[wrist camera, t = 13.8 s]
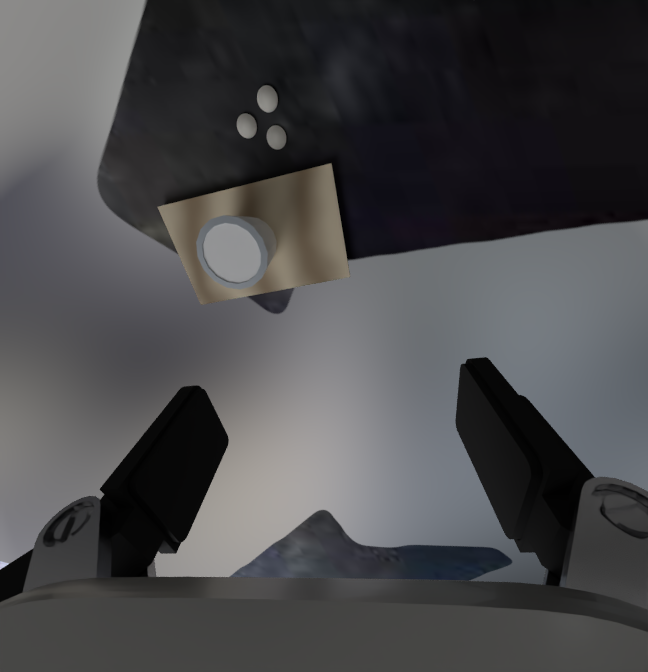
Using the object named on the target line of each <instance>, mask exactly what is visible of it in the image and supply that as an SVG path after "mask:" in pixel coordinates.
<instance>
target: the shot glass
mask: <svg viewBox="0 0 648 672" xmlns="http://www.w3.org/2000/svg"><path fill="white" fill-rule="evenodd" d="M276 244H277V241H276V238H275V235H274V232H273V231H272V229H271V228H270V227H269V225H268V224H267V223H265V222H264V221H262V220H260V219H259V218H254V217H245V216H228V215H223V216H219V217H216V218H213V219H210V220H209V221H208V222H207V223H206V224H205V225H204V226H203V227H202V228H201V229H200V232H199V235H198V238H197V241H196V245H197V256H198V259H199V261H200V263H201V265H202V267H203V269H204V271H205V272H206V273H207V274H208V275H209V276H210V277H211V278H212V279H213V280H214V281H215V282H217V283H219V284H221V285H223V286H225V287H227V288H233V289H244V288H248V287H252V286H253V285H254V284H256V283H257V282H258V281H259V280H260V279H262V277H263V275H264V273H265V271H266V270H267V268H268V266H269V264H270V262H271V261H272V259H273V257H274V254H275V252H276Z"/></svg>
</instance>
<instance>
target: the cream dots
mask: <svg viewBox="0 0 648 672" xmlns="http://www.w3.org/2000/svg"><path fill="white" fill-rule="evenodd" d="M257 101H258V104H259V106H260V108H261V109H262V110H263V111H265V112H268V113H269V112H272V111H274V110H275V109H276V107H277V104H278V97H277V93H276V92H275V90H274V89H273V88H272V87H271V86H268V85H265V86H262V87H261V88H260V89H259V91H258V94H257ZM237 129H238V131H239V133H240V134H241V135H242V136H243V137H245V138H252V137H253V136H254V135H255V134H256V131H257V124H256V121H255V119H254V118H253V117H252V116H251V115H250V114H247V113H244V114H241V115H240V116H239V118H238V120H237ZM267 141H268V143H269V145H270V146H271V147H272V148H273V149H276V150H279V149H281V148H283V147H284V146H285V144H286V133H285V131H284V130H283V129H282V128H281V127H280V126H277V125H274V126H272V127H270V128H269V130H268V132H267Z"/></svg>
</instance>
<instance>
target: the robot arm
mask: <svg viewBox="0 0 648 672" xmlns="http://www.w3.org/2000/svg"><path fill="white" fill-rule="evenodd" d="M456 428H457V431H458V432H459V435H460V438H461V439H462V442H463V444H464V446H465V448H466V450H467V453H468V455H469V457H470V459H471V461H472V464H473V466H474V467H475V470H476V472H477V474H478V477H479V479H480V481H481V483H482V485H483V487H484V490H485V492H486V494H487V496H488V498H489V500H490V503H491V505H492V507H493V509H494V511H495V513H496V515H497V518H498V520H499V522H500V524H501V527H502V529H503V531H504V533H505V535H506V536H507V537H508V538H509V539H514V540H515V542H516V544H517V547H518V548H519V550H520V552H535V553H536V555H537V557H538V559H539V561H540V562H541V565H542V566H544V567H545V568H546V571H545V575H544V580H543V584H542V585H537V584H525V583H510V582H484V581H456V580H406V579H344V578H251V577H156V571H155V562H154V558H155V556H156V554H157V552H158V551H159V552H160V553H177V550H178V548H179V546H180V544H181V542H183V541H184V540H185V539H186V537H187V535H188V533H189V531H190V529H191V527H192V524H193V522H194V520H195V518H196V515H197V513H198V511H199V509H200V506H201V504H202V502H203V500H204V497H205V495H206V493H207V491H208V488H209V486H210V484H211V482H212V480H213V477H214V475H215V473H216V471H217V468H218V466H219V464H220V462H221V459H222V457H223V455H224V453H225V451H226V448H227V446H228V436H227V433H226V431H225V429H224V427H223V425H222V423H221V421H220V419H219V417H218V415H217V413H216V411H215V409H214V407H213V405H212V403H211V401H210V399H209V397H208V395H207V393H206V391H205V390H204V389H202V388H201V387H200V386H186V387H182V388H181V389H180V390H179V391H178V392H177V394H176V395H175V396H174V397H173V399H172V400H171V401H170V402H169V403H168V405H167V406H166V407H165V408H164V410H163V411H162V413H161V414H160V415H159V416H158V418H156V420H155V421H154V422H153V423H152V425H151V426H150V427H149V428H148V430H147V431H146V432H145V433H144V435H143V436H142V437H141V439H140V440H139V441H138V442H137V443H136V445H135V446H134V447H133V448H132V450H131V451H130V452H129V453H128V454H127V456H126V457H125V458H124V459H123V461H122V462H121V463H120V465H119V466H118V467H117V468H116V469H115V471H114V472H113V473H112V474H111V476H110V477H109V478H108V479H107V481H106V482H105V483H104V484H103V486H102V487H101V488H100V490H101V491H102V492H103V493H104V494H105V495H104V496H103V497H102V498H101V500H100V499H98V498H97V497H96V496H88V497H84V498H81V499H79V500H76V501H74V502H72V503H71V504H69V505H68V506H66V507H65V508H63V509H62V510H61V511H59V512H58V513H57V514H56V515H55V516H54V517H53V518H52V519H51V520H50V521H49V522H48V523H47V524H46V525H45V526H44V528H43V529H42V531H41V532H40V533H39V535H38V538H37V540H36V542H35V546H34V548H33V549H32V550H30V551H29V552H27V553H26V554H24V555H23V556H21V557H19V558H18V559H16V560H15V561H13V562H12V563H10V564H8V565H7V566H5V567H4V568H2V569H1V570H0V672H648V492H647V491H646V490H644V489H642V488H640V487H638V486H636V485H633V484H631V483H628V482H625V481H622V480H619V479H616V478H608V477H597V478H595V477H594V476H593V475H592V474H591V472H590V471H589V470H588V469H587V468H586V466H585V465H584V464H583V463H582V462H581V461H580V460H579V458H578V457H577V456H576V455H575V454H574V452H573V451H572V450H571V449H570V448H569V447H568V445H567V444H566V443H565V442H564V441H563V440H562V438H561V437H560V436H559V435H558V434H557V433H556V431H555V430H554V429H553V428H552V427H551V426H550V425H549V423H548V422H547V421H546V420H545V419H544V418H543V416H542V415H541V414H540V413H539V412H538V410H537V409H536V408H535V407H534V406H533V405H532V403H530V401H529V400H528V399H527V398H526V397H524V396H522V395H518V394H517V392H516V391H515V390H514V389H513V388H512V386H511V385H510V384H509V383H508V382H507V381H506V379H505V378H504V377H503V376H502V374H501V373H500V372H499V371H498V370H497V368H496V367H495V366H494V365H493V364H492V362H491V361H490V360H489V359H488V358H486V357H485V358H474V359H467V361H466V364H461V367H460V378H459V388H458V399H457V411H456Z"/></svg>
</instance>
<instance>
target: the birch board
mask: <svg viewBox="0 0 648 672" xmlns="http://www.w3.org/2000/svg"><path fill="white" fill-rule="evenodd" d="M158 209H159V211H160V214H161V216H162V218H163V220H164V223H165V225H166V227H167V229H168V232H169V234H170V236H171V238H172V241H173V243H174V245H175V247H176V250H177V252H178V254H179V256H180V258H181V261H182V263H183V265H184V268H185V270H186V272H187V274H188V277H189V279H190V281H191V283H192V285H193V288H194V290H195V292H196V294H197V297H198V299H199V301H200V303H201V305H203V304H208V303H213V302H219V301H224V300H230V299H235V298H240V297H246V296H251V295H256V294H262V293H267V292H272V291H278V290H283V289H288V288H294V287H299V286H305V285H310V284H315V283H321V282H326V281H331V280H337V279H341V278H347V277H350V273H349V267H348V260H347V254H346V248H345V242H344V236H343V230H342V224H341V218H340V212H339V206H338V200H337V193H336V187H335V181H334V175H333V169H332V164H331V163H330V164H326V165H322V166H318V167H314V168H310V169H306V170H302V171H298V172H294V173H290V174H286V175H282V176H279V177H275V178H271V179H267V180H263V181H259V182H255V183H251V184H247V185H243V186H239V187H235V188H231V189H227V190H223V191H219V192H215V193H211V194H207V195H203V196H199V197H195V198H191V199H187V200H183V201H179V202H175V203H171V204H167V205H163V206H159V207H158ZM223 215H228V216H245V217H254V218H259V219H260V220H262V221H264V222H265V223H267V224H268V225H269V227H270V228H271V229H272V231H273V232H274V235H275V238H276V241H277V244H276V252H275V254H274V257H273V259H272V261H271V262H270V264H269V266H268V268H267V270H266V271H265V273H264V275H263V277H262V279H260V280H259V281H258V282H257V283H256V284H254V285H253V286H252V287H248V288H244V289H233V288H227V287H225V286H223V285H221V284H219V283H217V282H215V281H214V280H213V279H212V278H211V277H210V276H209V275H208V274H207V273H206V272H205V271H204V269H203V267H202V265H201V263H200V261H199V259H198V256H197V245H196V241H197V238H198V235H199V232H200V229H201V228H202V227H203V226H204V225H205V224H206V223H207V222H208V221H209V220H210V219H213V218H216V217H219V216H223Z"/></svg>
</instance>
